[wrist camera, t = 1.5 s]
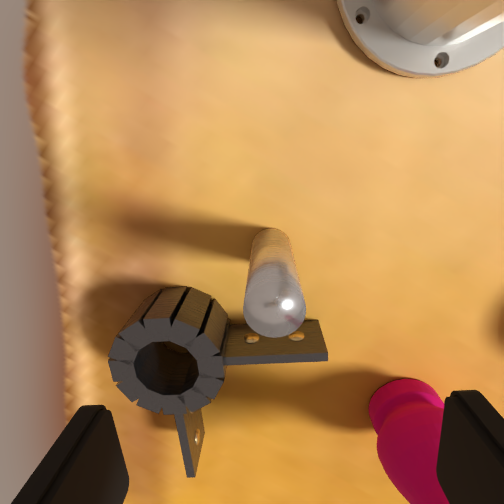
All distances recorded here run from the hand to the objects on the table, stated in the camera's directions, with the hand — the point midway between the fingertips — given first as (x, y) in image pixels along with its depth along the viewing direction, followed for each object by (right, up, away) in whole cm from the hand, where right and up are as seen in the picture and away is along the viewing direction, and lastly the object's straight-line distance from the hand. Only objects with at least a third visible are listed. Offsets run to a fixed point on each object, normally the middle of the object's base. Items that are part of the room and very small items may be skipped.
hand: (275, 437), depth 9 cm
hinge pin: (+1, +6, +16) cm, 17 cm away
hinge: (-3, -5, +19) cm, 20 cm away
